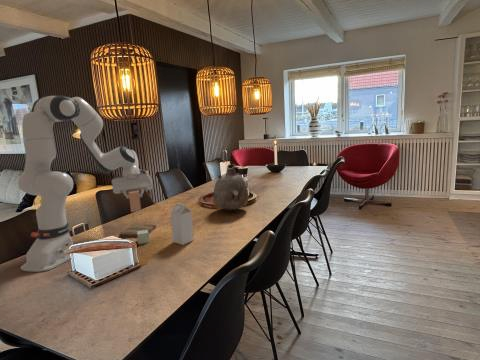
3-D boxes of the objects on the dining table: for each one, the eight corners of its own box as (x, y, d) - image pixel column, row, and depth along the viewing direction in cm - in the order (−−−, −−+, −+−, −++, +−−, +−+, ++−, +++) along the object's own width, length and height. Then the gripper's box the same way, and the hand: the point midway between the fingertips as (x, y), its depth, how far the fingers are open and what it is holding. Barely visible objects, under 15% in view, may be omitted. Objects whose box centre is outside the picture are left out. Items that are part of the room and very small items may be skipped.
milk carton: (184, 237, 157) (181, 201, 154) (193, 240, 153) (191, 203, 149) (173, 242, 152) (169, 204, 148) (182, 245, 148) (179, 206, 144)
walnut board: (144, 237, 160) (144, 234, 160) (119, 236, 162) (119, 234, 162) (156, 227, 173) (155, 225, 173) (132, 227, 176) (132, 224, 175)
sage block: (149, 242, 153) (148, 232, 152) (138, 244, 152) (137, 234, 151) (148, 238, 158) (147, 229, 157) (138, 240, 156) (137, 231, 155)
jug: (206, 210, 200) (203, 164, 194) (233, 203, 213) (230, 160, 207) (230, 219, 182) (228, 168, 175) (257, 211, 195) (256, 163, 189)
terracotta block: (141, 210, 164) (138, 192, 162) (131, 211, 162) (128, 193, 160) (140, 208, 169) (138, 189, 166) (130, 209, 167) (128, 191, 165)
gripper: (110, 174, 164) (112, 197, 157) (150, 170, 171) (154, 191, 164) (112, 181, 169) (113, 203, 162) (151, 177, 176) (154, 198, 169)
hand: (134, 197), depth 163 cm, fingers closed on terracotta block, 5 cm apart
